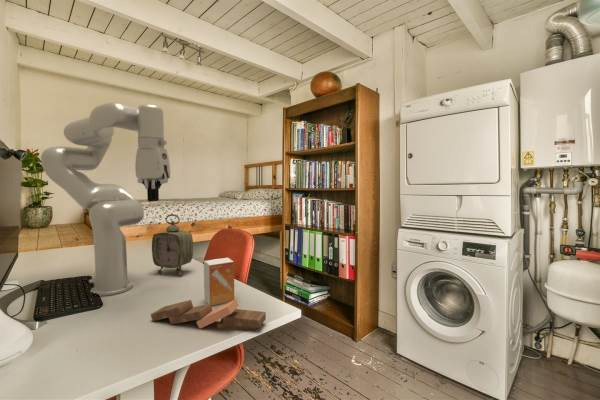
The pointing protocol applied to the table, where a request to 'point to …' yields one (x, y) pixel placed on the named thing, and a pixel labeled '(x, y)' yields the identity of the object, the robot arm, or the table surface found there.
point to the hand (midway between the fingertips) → (153, 200)
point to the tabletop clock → (172, 247)
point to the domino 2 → (192, 314)
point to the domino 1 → (172, 310)
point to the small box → (218, 281)
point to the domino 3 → (218, 314)
